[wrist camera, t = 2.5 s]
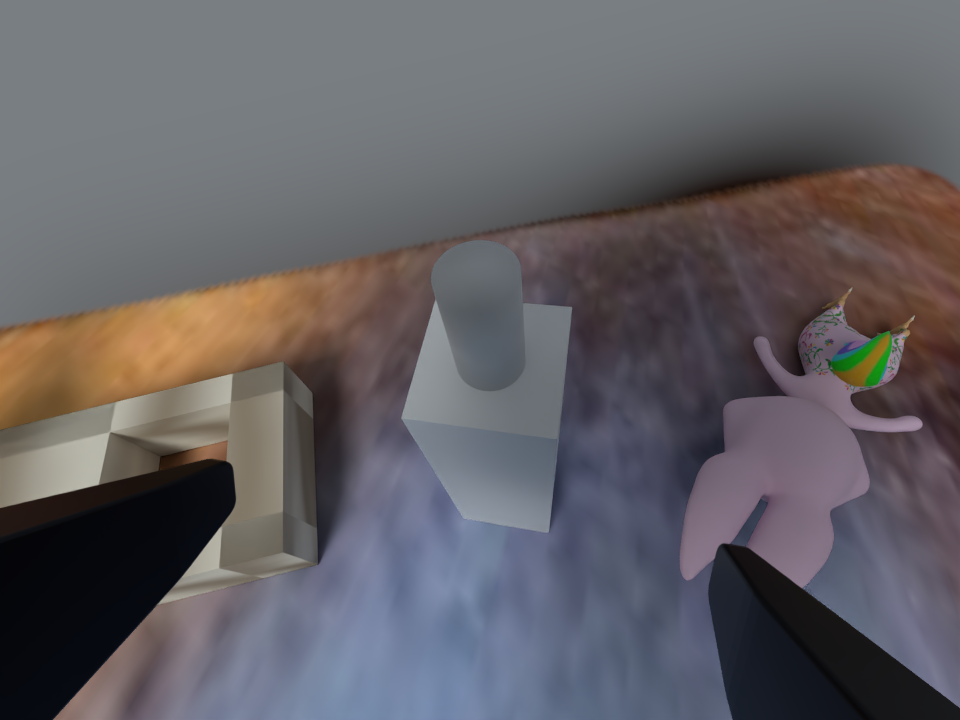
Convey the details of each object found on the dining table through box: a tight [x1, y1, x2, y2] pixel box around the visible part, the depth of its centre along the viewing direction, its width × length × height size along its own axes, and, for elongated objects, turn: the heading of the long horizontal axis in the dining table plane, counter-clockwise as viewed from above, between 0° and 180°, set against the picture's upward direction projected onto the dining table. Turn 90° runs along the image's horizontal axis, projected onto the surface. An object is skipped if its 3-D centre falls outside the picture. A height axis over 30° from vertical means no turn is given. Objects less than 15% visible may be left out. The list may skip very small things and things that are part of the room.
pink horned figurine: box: [679, 288, 922, 588], centre depth 17 cm, size 6×6×15 cm
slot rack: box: [0, 361, 318, 605], centre depth 19 cm, size 22×8×3 cm, turn 102°
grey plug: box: [401, 240, 572, 533], centre depth 14 cm, size 3×3×13 cm
